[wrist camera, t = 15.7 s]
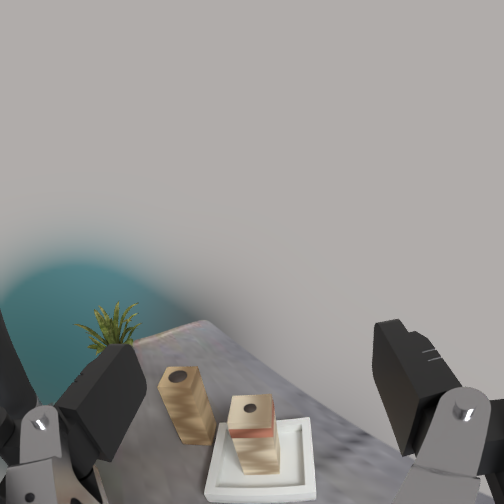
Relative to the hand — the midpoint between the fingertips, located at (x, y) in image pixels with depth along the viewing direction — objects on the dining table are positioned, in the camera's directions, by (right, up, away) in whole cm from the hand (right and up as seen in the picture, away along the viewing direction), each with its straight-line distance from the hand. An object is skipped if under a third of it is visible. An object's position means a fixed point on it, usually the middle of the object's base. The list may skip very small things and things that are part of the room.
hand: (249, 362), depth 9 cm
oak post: (-8, -24, +31) cm, 40 cm away
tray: (+2, -25, +24) cm, 34 cm away
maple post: (+1, -24, +24) cm, 34 cm away
